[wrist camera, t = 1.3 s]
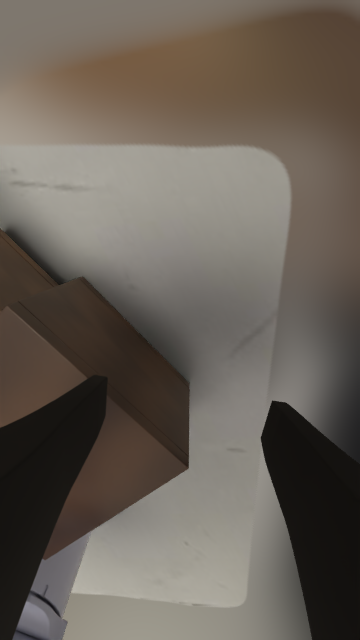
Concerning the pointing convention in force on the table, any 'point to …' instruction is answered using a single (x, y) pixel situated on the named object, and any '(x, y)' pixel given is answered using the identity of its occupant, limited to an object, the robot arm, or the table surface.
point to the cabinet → (121, 406)
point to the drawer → (19, 274)
